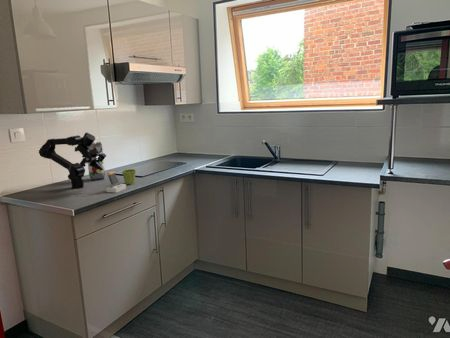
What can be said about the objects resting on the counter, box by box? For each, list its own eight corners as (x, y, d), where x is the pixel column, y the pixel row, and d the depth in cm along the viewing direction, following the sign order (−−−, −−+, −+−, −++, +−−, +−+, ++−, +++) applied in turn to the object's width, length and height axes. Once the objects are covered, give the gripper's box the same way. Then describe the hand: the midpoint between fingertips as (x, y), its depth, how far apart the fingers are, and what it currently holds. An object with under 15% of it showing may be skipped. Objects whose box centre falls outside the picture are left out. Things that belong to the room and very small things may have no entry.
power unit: (106, 191, 209) (106, 185, 208) (116, 187, 218) (116, 181, 217) (116, 192, 206) (115, 185, 206) (126, 188, 216) (125, 181, 215)
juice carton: (89, 178, 246) (85, 140, 240) (105, 177, 249) (101, 139, 244) (89, 181, 238) (85, 142, 232) (105, 179, 241) (101, 141, 236)
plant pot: (125, 186, 221) (124, 172, 220) (120, 183, 229) (119, 170, 227) (139, 183, 227) (138, 170, 225) (134, 181, 234) (132, 168, 232)
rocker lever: (111, 186, 209) (106, 173, 209) (117, 184, 214) (112, 171, 214) (114, 186, 209) (108, 172, 208) (119, 183, 214) (114, 171, 213)
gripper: (81, 144, 202) (99, 163, 201) (102, 140, 220) (118, 158, 218) (72, 157, 206) (89, 176, 205) (93, 152, 224) (109, 169, 222)
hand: (102, 169), depth 213 cm, fingers closed
